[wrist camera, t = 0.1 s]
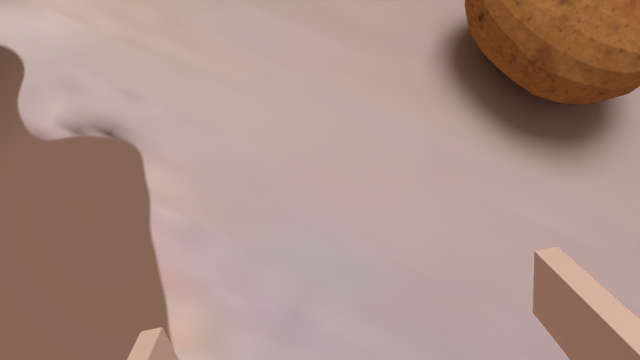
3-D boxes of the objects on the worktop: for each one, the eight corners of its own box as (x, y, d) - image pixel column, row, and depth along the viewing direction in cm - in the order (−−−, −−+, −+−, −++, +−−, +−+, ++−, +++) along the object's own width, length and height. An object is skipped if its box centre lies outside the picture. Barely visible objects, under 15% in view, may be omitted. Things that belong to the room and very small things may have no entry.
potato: (485, -28, 33) (528, -118, 25) (638, 54, 30) (740, -17, 22) (422, 56, 31) (447, -10, 24) (576, 149, 29) (660, 109, 21)
